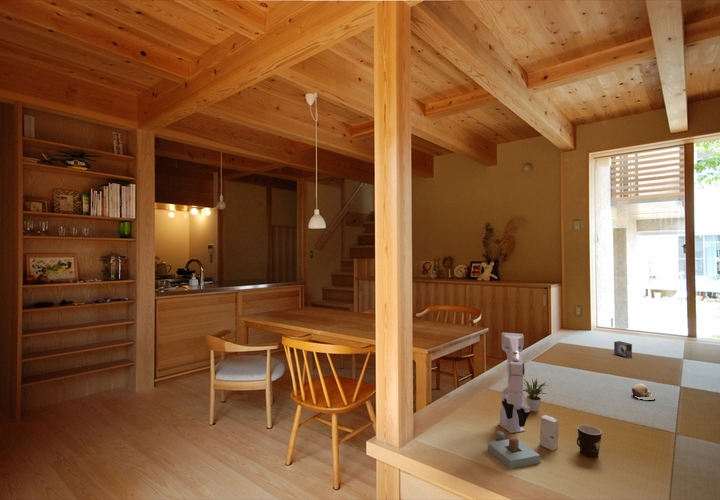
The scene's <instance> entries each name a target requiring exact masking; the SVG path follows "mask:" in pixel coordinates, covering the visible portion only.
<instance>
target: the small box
mask: <svg viewBox="0 0 720 500" xmlns="http://www.w3.org/2000/svg"><path fill="white" fill-rule="evenodd" d="M613 343H614V344H613V345H614V346H613V351H614V353H613V354H614V355H616V356H619V357H623V358H625V357H626V358H627V357H630V358H633V344H632V343H629V342H625V341H621V340H618V341H614V342H613ZM627 359H628V358H627Z"/></svg>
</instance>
